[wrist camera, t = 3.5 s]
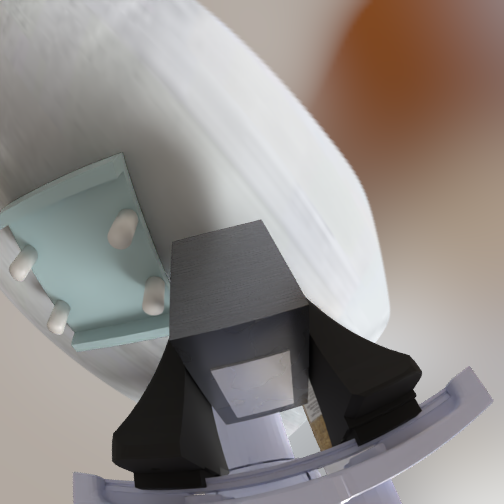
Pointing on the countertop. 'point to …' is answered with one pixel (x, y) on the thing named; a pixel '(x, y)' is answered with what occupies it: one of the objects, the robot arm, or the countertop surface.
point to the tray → (92, 256)
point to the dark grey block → (240, 322)
